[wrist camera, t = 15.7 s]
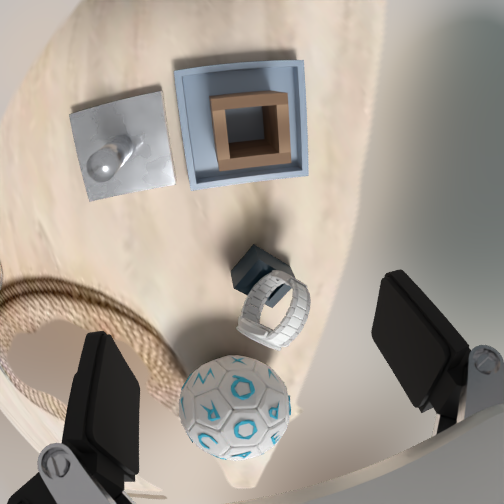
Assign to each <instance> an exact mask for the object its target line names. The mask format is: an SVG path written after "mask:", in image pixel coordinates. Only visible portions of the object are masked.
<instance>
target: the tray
mask: <svg viewBox="0 0 504 504" xmlns="http://www.w3.org/2000/svg"><path fill="white" fill-rule="evenodd" d="M174 76H175V85H176V93H177V101H178V108H179V116H180V123H181V130H182V137H183V144H184V150H185V157H186V163H187V170H188V176H189V182H190V188H191V191H194V190H200V189H206V188H213V187H220V186H227V185H234V184H242V183H249V182H257V181H266V180H274V179H283V178H292V177H302V176H308V135H307V110H306V90H305V73H304V60H276V61H255V62H241V63H230V64H220V65H211V66H203V67H196V68H189V69H183V70H177V71H174ZM267 90H272V91H279V92H286V93H288V106H289V124H290V144H291V163H287V164H277V165H268V166H259V167H251V168H243V169H235V170H227V171H219V167H218V162H217V158H216V152H215V144H214V136H213V127H212V119H211V110H210V101H209V96H214V95H223V94H232V93H242V92H253V91H267ZM225 116H226V125H227V135H228V143H233V142H241V141H250V140H259V139H264V126H263V113H262V106H256V107H245V108H236V109H227V110H225Z"/></svg>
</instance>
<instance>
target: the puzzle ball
mask: <svg viewBox="0 0 504 504" xmlns="http://www.w3.org/2000/svg"><path fill="white" fill-rule="evenodd" d="M182 389H183V390H182ZM182 389H181V391H182V392H181V394H180V399H179V416H180V418H181V423H182V425H183V427H184V428H185V430H186V432H187V433H188V436H189V438H190V439H192V440H193V441H192V440H191V441H192V442H194V443H195V444H196V445H197V446H198V447H199V448H202V450H203V451H205V452H207V453H209V454H211V455H213V456H215V457H218V458H220V459H225V460H226V459H229V460H234V461H236V460H245V459H249V458H253V457H256V456H259V455H261V454H264V452H266V451H268V450H269V449H271V448H272V447H273V446H274V445H275V444H276V443H277V442H278V441H279V440H280V438H281V437H282V435H283V434H284V432H285V431H286V429H287V426H288V424H289V415H291V406H290V395H289V396H288V393H287V387H286V386H285V384H284V382H283V381H282V380H281V378H280V377H279V376H278V375H277V374H276V373H275V372H274V370H273V369H271V368H270V367H269V366H268V365H266V364H264V363H262V362H260V361H258V360H256V359H252V358H249V357H245V356H239V355H233V356H232V355H228V356H225V357H222V358H218V359H215V360H212V361H210V362H208V363H206V364H203V365H201V366H200V367H199V369H196V370H195V371H194V372H192V373H191V374H190V376H189V377H188V379H187V380H186V382H185V383H184V385H183V387H182ZM288 398H289V399H288Z"/></svg>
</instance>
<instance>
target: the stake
mask: <svg viewBox="0 0 504 504" xmlns="http://www.w3.org/2000/svg"><path fill="white" fill-rule="evenodd" d="M69 117H70V122H71V127H72V132H73V137H74V142H75V147H76V151H77V155H78V160H79V164H80V168H81V172H82V176H83V180H84V184H85V187H86V191H87V195H88V198H89V202H90V201H94V200H99V199H103V198H108V197H113V196H117V195H122V194H127V193H132V192H137V191H143V190H148V189H153V188H159V187H164V186H170V185H176V175H175V170H174V164H173V158H172V152H171V146H170V139H169V133H168V126H167V120H166V113H165V106H164V98H163V91H159V92H154V93H149V94H144V95H139V96H135V97H130V98H126V99H122V100H118V101H114V102H110V103H106V104H103V105H99V106H96V107H92V108H89V109H85V110H82V111H79V112H75V113H72V114H69Z"/></svg>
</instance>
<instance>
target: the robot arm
mask: <svg viewBox="0 0 504 504" xmlns="http://www.w3.org/2000/svg"><path fill="white" fill-rule="evenodd" d="M2 281H3V275H2V268H1V265H0V290H1V287H2ZM371 333H372V338H373V340H374V342H375V343H376V345H377V347H378V348H379V350H380V351H381V353H382V354H383V356H384V358H385V359H386V361H387V363H388V364H389V366H390V368H391V369H392V371H393V373H394V374H395V376H396V377H397V379H398V381H399V382H400V384H401V386H402V387H403V389H404V391H405V392H406V394H407V395H408V397H409V399H410V401H411V402H412V404H413V406H414V407H418V408H419V409H420V411H421V413H423V412H425V411H427V410H429V409H431V408H434V409H435V411H436V419H435V423H434V428H433V433H432V437H431V438H429V439H427V440H425V441H423V442H421V443H419V444H417V445H416V446H413V447H411V448H409V449H407V450H405V451H403V452H401V453H398V454H396V455H394V456H392V457H389V458H387V459H385V460H383V461H380V462H378V463H375V464H373V465H371V466H368V467H365V468H363V469H360V470H357V471H354V472H352V473H349V474H346V475H343V476H340V477H337V478H334V479H331V480H328V481H325V482H322V483H318V484H315V485H312V486H308V487H304V488H301V489H297V490H293V491H289V492H285V493H281V494H276V495H272V496H267V497H262V498H257V499H252V500H247V501H240V502H234V503H227V504H504V361H503V358H502V356H501V355H500V353H499V352H498V351H497V350H496V349H494V348H493V347H490V346H487V345H479V346H476V347H475V348H473V349H472V350H470V349H469V345H468V344H467V342H466V341H465V340H464V339H463V337H462V336H461V335H460V334H459V333H458V331H457V330H456V329H455V328H454V327H453V326H452V324H451V323H450V322H449V321H448V320H447V318H446V317H445V316H444V315H443V314H442V313H441V312H440V310H439V309H438V308H437V307H436V306H435V305H434V304H433V302H432V301H431V300H430V299H429V298H428V297H427V296H426V295H425V294H424V292H423V291H422V290H421V289H420V288H419V287H418V286H417V285H416V284H415V283H414V282H413V281H412V280H411V278H409V276H408V275H407V274H406V273H405V272H404V271H403V270H396V271H392V272H389V273H386V274H385V277H384V278H382V280H381V285H380V290H379V296H378V302H377V307H376V312H375V317H374V322H373V326H372V332H371ZM139 403H140V387H139V383H138V381H137V379H136V378H135V376H134V374H133V373H132V371H131V370H130V368H129V366H128V365H127V363H126V361H125V359H124V358H123V356H122V354H121V352H120V351H119V349H118V347H117V345H116V344H115V342H114V340H113V338H112V336H111V335H110V334H108V335H107V334H106V333H105V332H104V331H98V332H91V333H88V334H87V335H86V338H85V342H84V346H83V350H82V354H81V358H80V362H79V367H78V371H77V373H76V374H75V376H74V378H73V383H72V387H71V392H70V397H69V402H68V407H67V413H66V418H65V424H64V431H63V437H62V444H61V443H53V444H50V445H48V446H46V447H45V448H44V449H43V450H42V451H41V453H40V455H39V457H38V470H39V472H38V473H37V474H36V475H35V476H34V477H33V478H32V479H30V480H29V481H28V482H27V483H26V484H25V485H23V486H22V487H21V488H20V489H19V490H18V491H16V492H15V493H14V494H13V495H12V496H11V497H10V498H9V500H8V503H7V504H136V503H135V502H134V501H133V500H132V499H131V498H130V497H129V496H128V494H127V493H126V492H125V491H124V482H135V475H137V474H138V473H139Z"/></svg>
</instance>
